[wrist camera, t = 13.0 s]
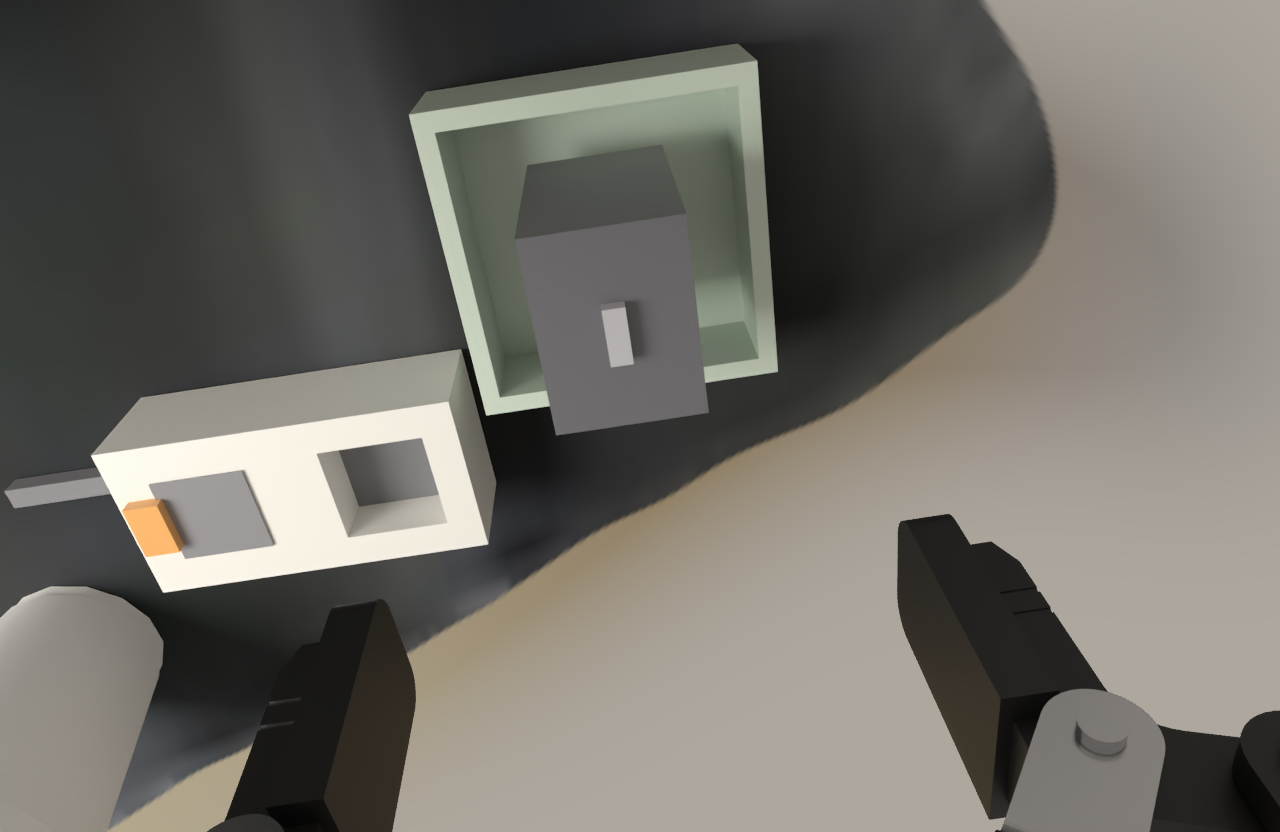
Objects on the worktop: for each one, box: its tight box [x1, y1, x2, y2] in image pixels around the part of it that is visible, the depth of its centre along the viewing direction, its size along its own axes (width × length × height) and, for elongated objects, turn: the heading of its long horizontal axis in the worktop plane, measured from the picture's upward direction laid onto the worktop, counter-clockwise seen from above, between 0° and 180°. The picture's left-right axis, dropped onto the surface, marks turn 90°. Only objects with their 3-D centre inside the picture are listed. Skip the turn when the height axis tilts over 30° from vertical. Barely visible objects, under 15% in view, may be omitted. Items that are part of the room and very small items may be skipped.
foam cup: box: [0, 586, 163, 832], centre depth 33 cm, size 10×9×13 cm
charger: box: [514, 145, 709, 435], centre depth 27 cm, size 6×4×9 cm
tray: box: [409, 43, 778, 416], centre depth 30 cm, size 10×10×4 cm
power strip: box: [5, 349, 496, 593], centre depth 33 cm, size 6×18×4 cm, turn 98°
